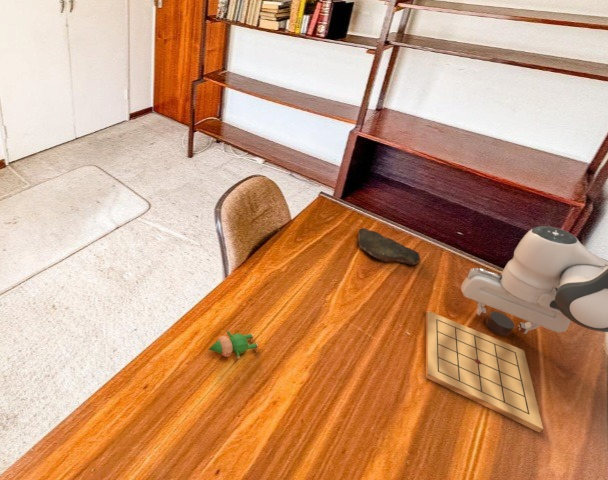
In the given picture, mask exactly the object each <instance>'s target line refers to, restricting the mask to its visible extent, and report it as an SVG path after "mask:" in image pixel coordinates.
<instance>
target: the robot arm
mask: <svg viewBox="0 0 608 480" xmlns="http://www.w3.org/2000/svg"><path fill="white" fill-rule="evenodd" d="M460 289H461V293H462V295H463V297H465V298H466V299H469V300H472V301H474V302H476V305H477V308H476V315H477V316H480V317H482V318H485V317H486V315H487V308H486V307H485V306H488V307H490V308H493V309H495V310H497V311H500V312H503V313H505V314H509V315H510V316H513V317H516V318H518V319H521V320H524V321H526V322H521V321H520V322H519V323H518V325H517V331H518V332H520V333H523V334H525V335H527V334H528V332H529V331H532V330H537V329H539V328H540V327H541V328H544V329H546V330H549V331H552V332H555V333H557V334H560V333H565V332H566V331H567V330H568V328H569V327H570V324H571V323H572V322H573V323H574V324H576V325H578V326H579V327H581V328H584V329H588V330H590V331H595V332H602V333H608V259H606V258H603V257H600V256H598V255H597V254H595V253H594V252H592V251H591V250H589V249H588V248H587V247H585V246H584V245H583V244H582V243H581V242H580V241H579V239H578V238H577V237H576V236H575V235H574V234H572V233H571V232H569V231H567V230H564V229H562V228H558V227H554V226H546V225H541V226H535V227H533V228H531V229H530V230H529V231H528V232H526V233H525V234H524V236H523V237H522V238H521V239H520V241H519V243H518V244H517V246H516V247H515V249H514V251H513V256H512V258H511V259H509V260H508V261H507V262H506V264H505V266H504V268H503V269H502V271H501V273H500V274H499V273H496V272H493V271H490V270H487V269H485V268H483V267H474V268H469V270H468V272H467V274H466V277H465V278H464V280H463V282H462V283H461V286H460Z"/></svg>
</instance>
